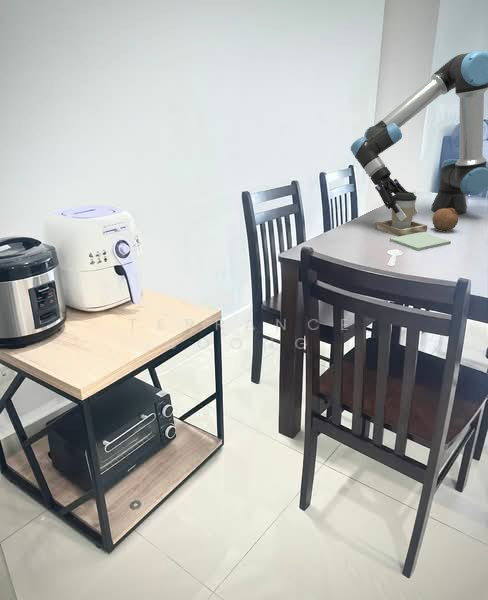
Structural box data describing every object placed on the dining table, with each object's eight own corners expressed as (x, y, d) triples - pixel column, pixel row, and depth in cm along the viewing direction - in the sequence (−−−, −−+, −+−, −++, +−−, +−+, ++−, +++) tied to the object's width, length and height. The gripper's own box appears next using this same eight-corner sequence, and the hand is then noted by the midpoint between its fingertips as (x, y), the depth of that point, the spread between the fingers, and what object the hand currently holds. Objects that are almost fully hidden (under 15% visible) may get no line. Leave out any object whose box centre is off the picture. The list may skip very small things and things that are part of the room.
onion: (451, 237, 178) (466, 215, 174) (443, 235, 171) (459, 213, 166) (431, 224, 183) (446, 203, 178) (423, 223, 176) (438, 201, 171)
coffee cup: (413, 232, 174) (418, 194, 167) (390, 232, 175) (394, 194, 169) (410, 226, 182) (415, 190, 175) (388, 226, 183) (391, 190, 177)
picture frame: (401, 223, 187) (401, 218, 186) (426, 231, 175) (427, 225, 174) (375, 228, 182) (375, 222, 180) (399, 236, 170) (400, 230, 169)
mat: (421, 234, 172) (421, 232, 171) (450, 243, 160) (450, 241, 160) (389, 240, 166) (389, 238, 165) (417, 250, 154) (418, 248, 154)
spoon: (381, 266, 142) (382, 264, 142) (388, 249, 157) (388, 248, 157) (399, 268, 140) (399, 266, 140) (404, 251, 155) (404, 249, 155)
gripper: (385, 174, 187) (415, 216, 183) (356, 181, 174) (388, 227, 170) (398, 162, 182) (429, 206, 178) (369, 169, 168) (403, 216, 164)
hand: (409, 216), depth 174 cm, fingers closed on coffee cup, 9 cm apart
